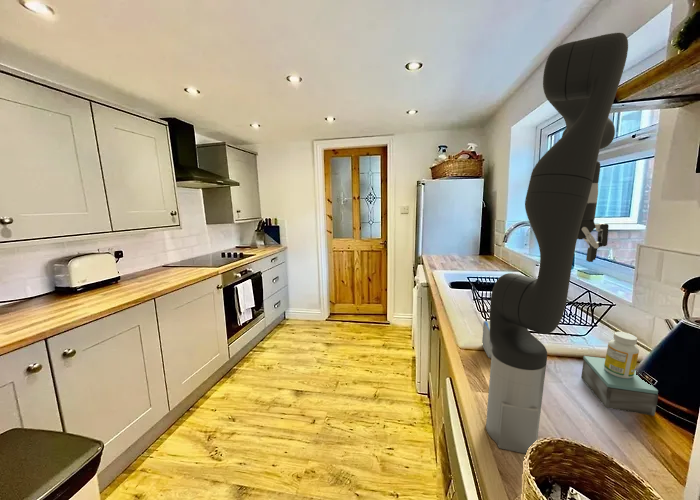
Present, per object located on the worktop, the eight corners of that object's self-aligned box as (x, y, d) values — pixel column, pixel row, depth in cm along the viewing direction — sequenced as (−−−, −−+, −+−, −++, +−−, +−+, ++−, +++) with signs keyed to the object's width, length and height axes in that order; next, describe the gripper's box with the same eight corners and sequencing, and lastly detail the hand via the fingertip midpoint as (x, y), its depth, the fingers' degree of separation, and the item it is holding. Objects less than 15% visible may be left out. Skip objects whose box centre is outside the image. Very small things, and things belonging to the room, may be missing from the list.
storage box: (654, 415, 65) (658, 395, 64) (605, 408, 67) (608, 388, 66) (622, 382, 76) (625, 365, 75) (581, 377, 79) (583, 360, 78)
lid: (657, 394, 64) (658, 390, 64) (607, 387, 67) (608, 384, 67) (624, 363, 75) (625, 360, 75) (583, 358, 78) (583, 355, 78)
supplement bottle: (611, 377, 69) (618, 339, 67) (598, 364, 74) (605, 329, 72) (639, 381, 67) (647, 342, 65) (624, 367, 72) (631, 331, 71)
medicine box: (503, 359, 88) (506, 332, 86) (487, 358, 89) (489, 331, 87) (496, 346, 95) (498, 321, 94) (481, 345, 96) (483, 320, 95)
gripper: (553, 201, 77) (546, 262, 80) (619, 201, 73) (609, 265, 76) (543, 201, 84) (537, 256, 87) (603, 200, 80) (595, 259, 83)
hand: (571, 260), depth 81 cm, fingers open, 8 cm apart
